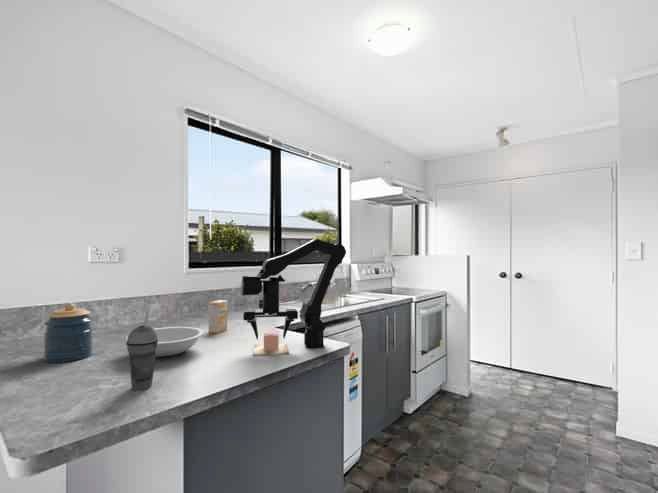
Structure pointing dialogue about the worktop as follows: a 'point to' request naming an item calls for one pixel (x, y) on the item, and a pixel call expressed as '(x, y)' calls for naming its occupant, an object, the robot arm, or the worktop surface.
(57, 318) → the canister
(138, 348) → the beverage cup
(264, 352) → the birch board
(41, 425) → the worktop surface
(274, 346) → the coral cube
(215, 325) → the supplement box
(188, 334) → the soup bowl
